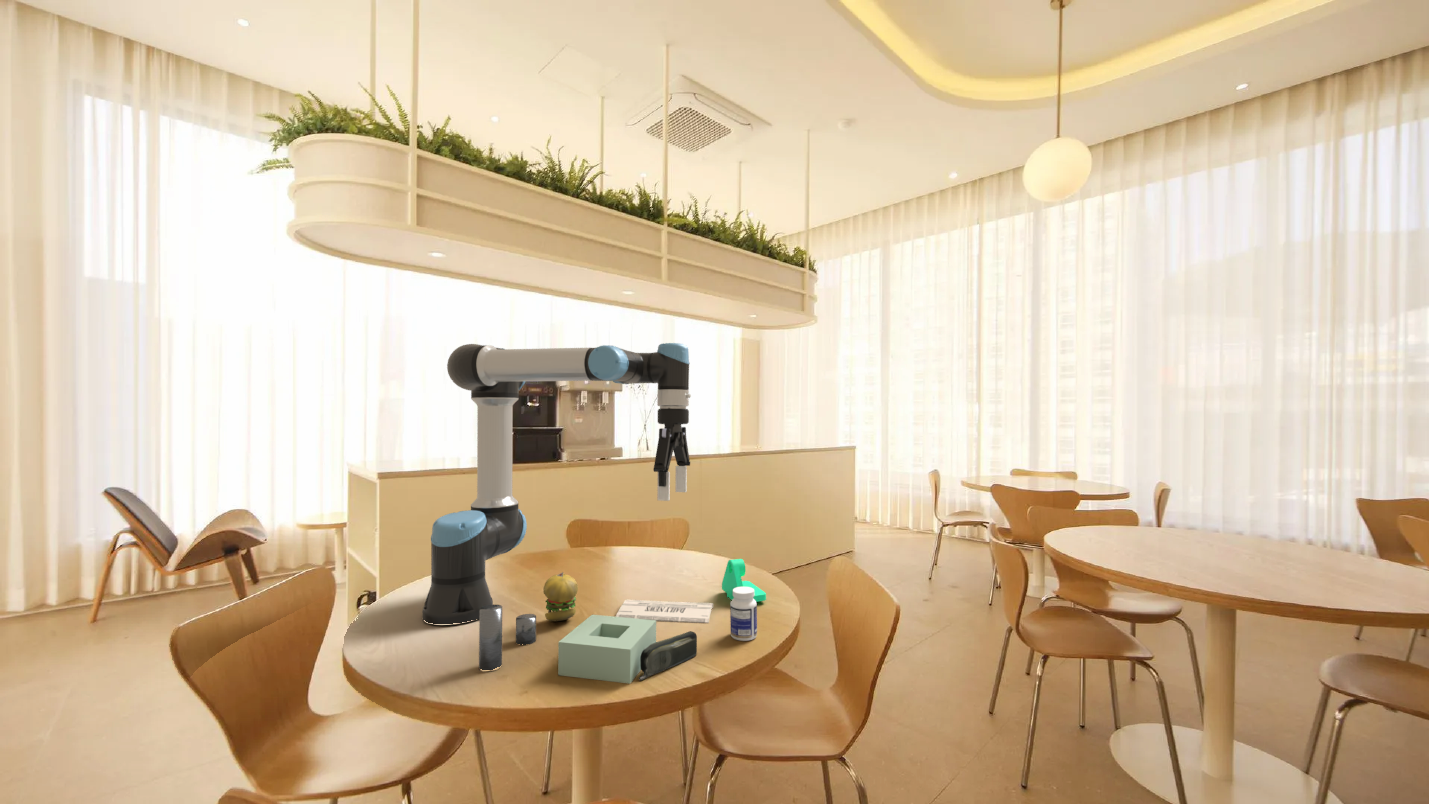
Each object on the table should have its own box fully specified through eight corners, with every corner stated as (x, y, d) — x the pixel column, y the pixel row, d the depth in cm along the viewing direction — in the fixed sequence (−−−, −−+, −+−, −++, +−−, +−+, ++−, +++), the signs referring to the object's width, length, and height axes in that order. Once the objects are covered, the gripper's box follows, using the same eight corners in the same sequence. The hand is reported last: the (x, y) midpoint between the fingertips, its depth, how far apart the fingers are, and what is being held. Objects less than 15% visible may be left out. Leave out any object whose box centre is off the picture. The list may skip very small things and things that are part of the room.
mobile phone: (689, 627, 112) (632, 650, 100) (700, 631, 110) (643, 654, 98) (688, 652, 111) (631, 677, 100) (699, 657, 109) (642, 683, 98)
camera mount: (767, 604, 139) (767, 563, 139) (739, 608, 136) (739, 566, 136) (748, 590, 150) (748, 552, 150) (721, 593, 147) (721, 554, 147)
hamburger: (573, 614, 131) (574, 563, 131) (581, 624, 125) (581, 571, 125) (540, 620, 127) (540, 567, 128) (546, 631, 121) (546, 576, 121)
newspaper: (714, 606, 138) (714, 597, 138) (708, 631, 126) (708, 620, 126) (625, 602, 140) (625, 593, 140) (611, 626, 128) (611, 616, 128)
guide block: (558, 675, 101) (558, 641, 101) (591, 643, 115) (592, 614, 115) (630, 683, 98) (630, 649, 98) (656, 650, 111) (656, 620, 112)
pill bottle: (742, 628, 123) (743, 583, 123) (762, 636, 119) (762, 589, 119) (724, 636, 119) (724, 589, 119) (744, 644, 115) (744, 596, 115)
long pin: (474, 670, 103) (474, 611, 103) (487, 661, 106) (488, 603, 107) (493, 673, 102) (493, 612, 102) (506, 663, 106) (506, 605, 106)
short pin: (511, 644, 114) (512, 619, 114) (522, 636, 118) (522, 613, 118) (529, 646, 113) (529, 621, 113) (539, 638, 117) (539, 614, 117)
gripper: (672, 407, 120) (671, 505, 120) (701, 408, 145) (701, 489, 144) (639, 407, 122) (639, 503, 122) (674, 408, 146) (673, 488, 146)
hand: (672, 496), depth 133 cm, fingers open, 13 cm apart
